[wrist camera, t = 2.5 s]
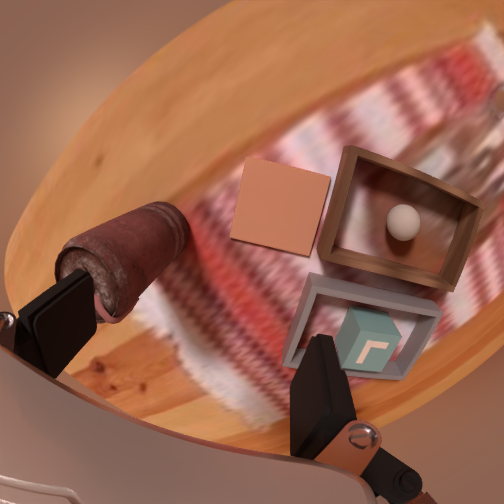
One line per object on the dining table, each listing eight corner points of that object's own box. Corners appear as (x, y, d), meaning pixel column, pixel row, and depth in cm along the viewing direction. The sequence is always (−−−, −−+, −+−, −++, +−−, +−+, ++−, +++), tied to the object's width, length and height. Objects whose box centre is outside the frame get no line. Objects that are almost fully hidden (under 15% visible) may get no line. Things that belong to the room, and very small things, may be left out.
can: (169, 269, 29) (103, 346, 16) (128, 230, 28) (41, 283, 15) (203, 230, 28) (142, 295, 14) (158, 188, 27) (67, 220, 13)
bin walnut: (469, 198, 23) (484, 203, 21) (441, 281, 27) (453, 292, 24) (343, 146, 24) (351, 145, 21) (316, 248, 27) (320, 259, 24)
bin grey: (432, 300, 28) (443, 312, 25) (396, 365, 31) (403, 380, 28) (309, 272, 28) (312, 284, 25) (282, 349, 32) (282, 366, 29)
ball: (414, 207, 25) (430, 214, 21) (405, 238, 26) (419, 249, 23) (387, 197, 25) (401, 203, 21) (377, 230, 26) (389, 240, 23)
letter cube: (387, 311, 29) (402, 337, 24) (370, 345, 31) (381, 372, 26) (350, 304, 29) (361, 330, 24) (334, 339, 31) (341, 368, 26)
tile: (330, 176, 25) (330, 177, 24) (308, 254, 27) (308, 256, 27) (246, 156, 25) (246, 156, 24) (230, 236, 28) (229, 237, 27)
